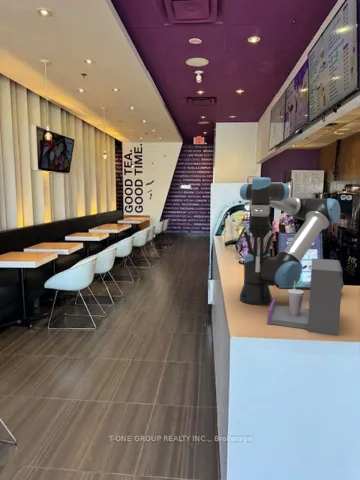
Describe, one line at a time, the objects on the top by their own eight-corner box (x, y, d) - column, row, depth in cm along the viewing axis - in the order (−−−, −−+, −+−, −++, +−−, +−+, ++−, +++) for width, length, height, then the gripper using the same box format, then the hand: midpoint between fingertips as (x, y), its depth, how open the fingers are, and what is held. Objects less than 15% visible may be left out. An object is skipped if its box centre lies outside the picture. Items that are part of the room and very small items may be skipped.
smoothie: (283, 311, 147) (285, 279, 145) (298, 311, 147) (300, 278, 145) (290, 316, 140) (291, 283, 138) (305, 316, 141) (307, 282, 139)
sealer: (307, 331, 131) (311, 269, 128) (308, 312, 152) (312, 258, 149) (338, 335, 127) (342, 271, 124) (334, 315, 149) (338, 260, 146)
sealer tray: (267, 323, 138) (268, 310, 137) (273, 308, 156) (273, 296, 156) (309, 329, 132) (310, 315, 132) (310, 313, 151) (310, 300, 150)
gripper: (242, 215, 142) (240, 271, 146) (275, 216, 138) (272, 274, 141) (245, 214, 149) (244, 268, 152) (277, 215, 145) (274, 271, 148)
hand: (257, 271), depth 147 cm, fingers closed
